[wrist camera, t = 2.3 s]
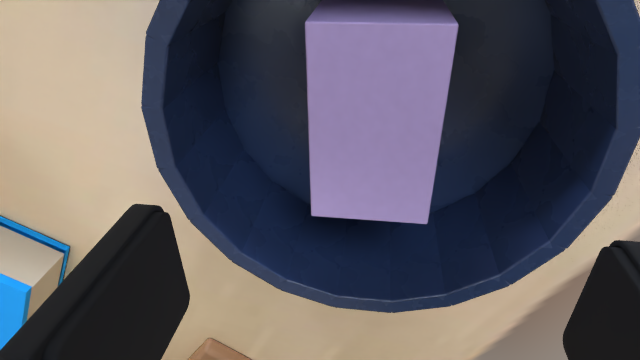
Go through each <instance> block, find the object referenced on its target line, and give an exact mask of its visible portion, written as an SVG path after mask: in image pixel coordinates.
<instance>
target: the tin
mask: <svg viewBox="0 0 640 360" xmlns="http://www.w3.org/2000/svg"><path fill="white" fill-rule="evenodd" d="M321 1H322V0H160V1H159V3H158V6H157V8H156V10H155V13H154V15H153V17H152V20H151V22H150V24H149V27H148V29H147V31H146V34H147V35H146V40H145V56H144V71H143V87H142V102H141V103H142V107H141V108H142V112H143V115H144V119H145V123H146V127H147V131H148V135H149V138H150V142H151V146H152V150H153V154H154V157H155V161H156V165H157V168H159V172H160V173H161V175H162V177H163V178H164V180H165V182H166V183H167V185H168V187H169V188H170V190H171V192H172V193H173V195H174V197H175V198H176V200H177V202H178V203H179V205H180V206H181V208H182V210H183V211H184V213H185V215H186V216H187V218H188V219H189V220H190V222H191V223H192V224H193V225H194V226H195V227H196V228H197V229H198V230H199V231H200V232H201V233H202V234H203V235H204V236H206V237H207V238H208V239H209V240H210V241H211V242H212V243H213V244H214V245H215V246H216V247H217V248H218V249H219V250H220V251H221V252H222V253H223V254H224V255H225V256H226V257H227V258H228V259H229V260H232V262H233V263H235V264H237V265H238V266H240V267H242V268H244V269H245V270H247V271H249V272H250V273H252V274H254V275H255V276H257V277H259V278H261V279H262V280H264V281H266V282H267V283H269V284H271V285H273V286H274V287H276V288H278V289H281V290H282V291H285V292H288V293H291V294H294V295H297V296H300V297H303V298H307V299H310V300H313V301H316V302H319V303H322V304H325V305H328V306H331V307H334V306H335V307H336V308H346V309H357V310H367V311H377V312H387V313H391V312H392V313H396V312H405V311H413V310H422V309H431V308H440V307H448V306H451V305H456V304H459V303H462V302H464V301H467V300H470V299H473V298H476V297H479V296H482V295H485V294H487V293H490V292H493V291H496V290H499V289H502V288H505V287H508V286H509V285H510V284H513V283H515V282H516V281H518V280H520V279H521V278H523V277H524V276H526V275H527V274H529V273H530V272H532V271H533V270H535V269H537V268H538V267H540V266H541V265H543V264H544V263H546V262H547V261H549V260H551V259H552V258H554V257H555V256H557V255H558V254H560V253H561V252H563V251H564V250H565V248H568V247H569V246H570V245H571V244H572V242H573V241H574V240H575V239H576V238H577V237H578V236H579V235H580V234H581V232H582V231H583V230H584V229H585V228H586V227H587V226H588V225H589V223H590V222H591V221H592V220H593V219H594V218H595V217H596V216H597V214H598V213H599V212H600V211H601V210H602V209H603V208H604V207H605V205H606V204H607V203H608V202H609V201H610V200H611V199H612V196H613V195H614V194H615V192H616V190H617V188H618V185H619V183H620V181H621V179H622V176H623V174H624V172H625V170H626V167H627V165H628V163H629V161H630V158H631V156H632V154H633V152H634V149H635V147H636V145H637V143H638V140H639V138H640V17H639V14H638V11H637V8H636V6H635V3H634V0H443V1H444V3H445V4H446V6H447V7H448V9H449V10H450V12H451V13H452V15H453V17H454V18H455V20H456V21H457V23H458V25H459V27H458V33H457V39H456V46H455V52H454V58H453V65H452V71H451V77H450V84H449V90H448V96H447V103H446V109H445V115H444V122H443V128H442V135H441V141H440V147H439V154H438V160H437V166H436V173H435V179H434V185H433V192H432V198H431V204H430V211H429V217H428V223H427V224H417V223H403V222H389V221H375V220H361V219H348V218H334V217H320V216H312V215H311V196H310V165H309V135H308V104H307V73H306V43H305V22H306V20H307V19H308V18H309V16H310V15H311V14H312V12H313V11H314V10H315V9H316V7H317V6H318V5H319V3H320V2H321Z"/></svg>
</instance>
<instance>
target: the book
mask: <svg viewBox="0 0 640 360" xmlns="http://www.w3.org/2000/svg"><path fill="white" fill-rule="evenodd" d="M69 249H70V247H69V246H67V245H64V244H62V243H60V242H58V241H55V240H53V239H51V238H49V237H46V236H44V235H42V234H40V233H37V232H35V231H33V230H31V229H28V228H26V227H24V226H22V225H19V224H17V223H15V222H13V221H10V220H8V219H6V218H4V217H1V216H0V350H1V349H2V348H3V347H4V346H5V344H6V343H7V342H8V341H9V340H10V339H11V338H12V337H13V336H14V335H15V333H16V332H17V331H18V330H19V329H20V328H21V327H22V326H23V325H24V324H25V322H26V321H27V320H28V319H29V318H30V317H31V316H32V315H33V314H34V313H35V311H36V310H37V309H38V308H39V307H40V306H41V305H42V304H43V303H44V301H45V300H46V299H47V298H48V297H49V296H50V295H51V294H52V293H53V292H54V290H55V289H56V288H57V287H58V286H59V285H60V284H61V283H62V281H63V276H64V272H65V267H66V262H67V258H68V253H69Z"/></svg>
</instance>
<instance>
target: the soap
mask: <svg viewBox="0 0 640 360" xmlns="http://www.w3.org/2000/svg"><path fill="white" fill-rule="evenodd" d="M458 27H459V25H458V23H457V21H456V20H455V18H454V17H453V15H452V13H451V12H450V10H449V9H448V7H447V6H446V4H445V3H444V1H443V0H322V1H321V2H320V3H319V5H318V6H317V7H316V9H315V10H314V11H313V12H312V14H311V15H310V16H309V18H308V19H307V20H306V22H305V43H306V73H307V104H308V135H309V165H310V196H311V215H312V216H320V217H334V218H348V219H361V220H375V221H389V222H403V223H417V224H427V223H428V217H429V211H430V204H431V198H432V192H433V185H434V179H435V173H436V166H437V160H438V154H439V147H440V141H441V135H442V128H443V122H444V115H445V109H446V103H447V96H448V90H449V84H450V77H451V71H452V65H453V58H454V52H455V46H456V39H457V33H458Z"/></svg>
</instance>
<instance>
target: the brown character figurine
mask: <svg viewBox="0 0 640 360" xmlns="http://www.w3.org/2000/svg"><path fill="white" fill-rule="evenodd" d="M188 360H251V359H249V358H247V357H245V356H243V355H242V354H240V353H238V352H236V351H234V350H232V349H230V348H229V347H227V346H225V345H223V344H221V343H219V342H217V341H215V340H214V339H207V340H206V341H205V342H204V343H203V344H202V345H201V346H200V347H199V348H198V349H197V350H196V352H195V353H194V354H193V355H192V356H191V357H190V358H189V359H188Z"/></svg>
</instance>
